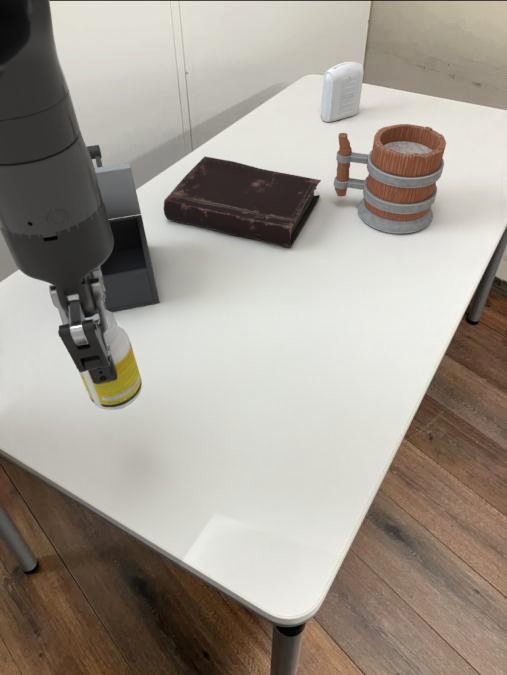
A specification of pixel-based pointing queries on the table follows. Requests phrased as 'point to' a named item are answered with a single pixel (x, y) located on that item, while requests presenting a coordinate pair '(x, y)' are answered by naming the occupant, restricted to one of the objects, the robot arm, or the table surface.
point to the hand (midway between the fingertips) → (104, 355)
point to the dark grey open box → (129, 267)
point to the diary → (243, 201)
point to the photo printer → (341, 91)
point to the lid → (116, 187)
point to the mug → (395, 177)
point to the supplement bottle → (127, 371)
